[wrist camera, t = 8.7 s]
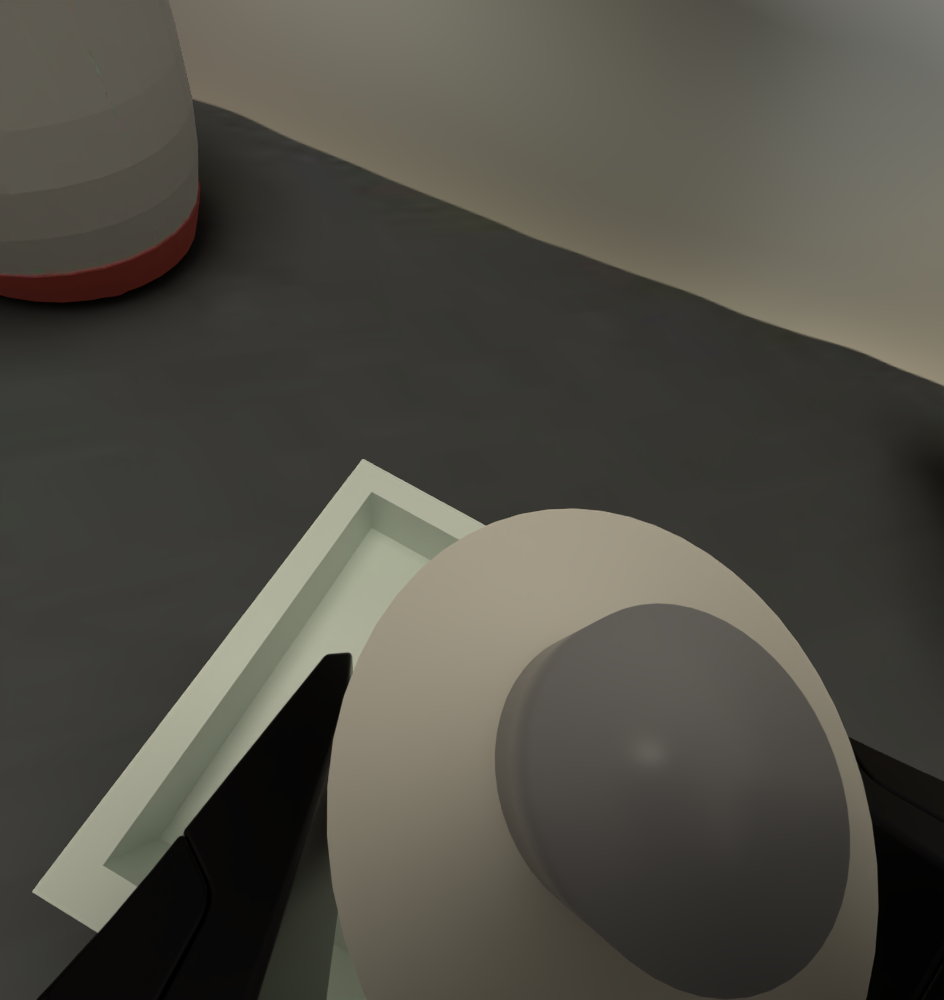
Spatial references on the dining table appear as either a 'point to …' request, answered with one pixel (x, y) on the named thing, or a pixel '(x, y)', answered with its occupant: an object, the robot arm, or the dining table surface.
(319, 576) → the walled box
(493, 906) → the grey-capped cream cylinder
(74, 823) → the dining table surface
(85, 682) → the dining table surface
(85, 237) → the citrus juicer
